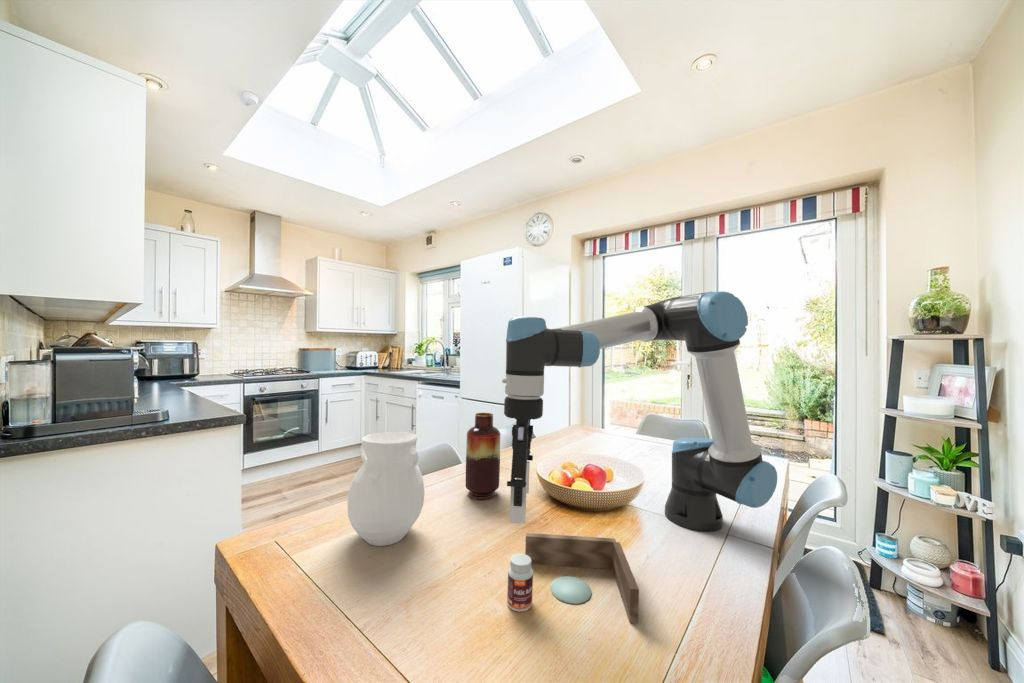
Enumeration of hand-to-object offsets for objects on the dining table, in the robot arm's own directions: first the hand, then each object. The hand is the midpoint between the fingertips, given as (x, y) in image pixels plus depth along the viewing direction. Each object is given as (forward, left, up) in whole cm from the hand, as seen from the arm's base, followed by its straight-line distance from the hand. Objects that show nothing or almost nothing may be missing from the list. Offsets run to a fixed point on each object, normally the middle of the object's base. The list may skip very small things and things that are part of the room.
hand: (520, 506), depth 72 cm
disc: (-10, -4, -18) cm, 21 cm away
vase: (+15, -49, -18) cm, 54 cm away
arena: (-11, -5, -18) cm, 21 cm away
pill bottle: (0, +1, -18) cm, 18 cm away
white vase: (+35, -20, -18) cm, 44 cm away
